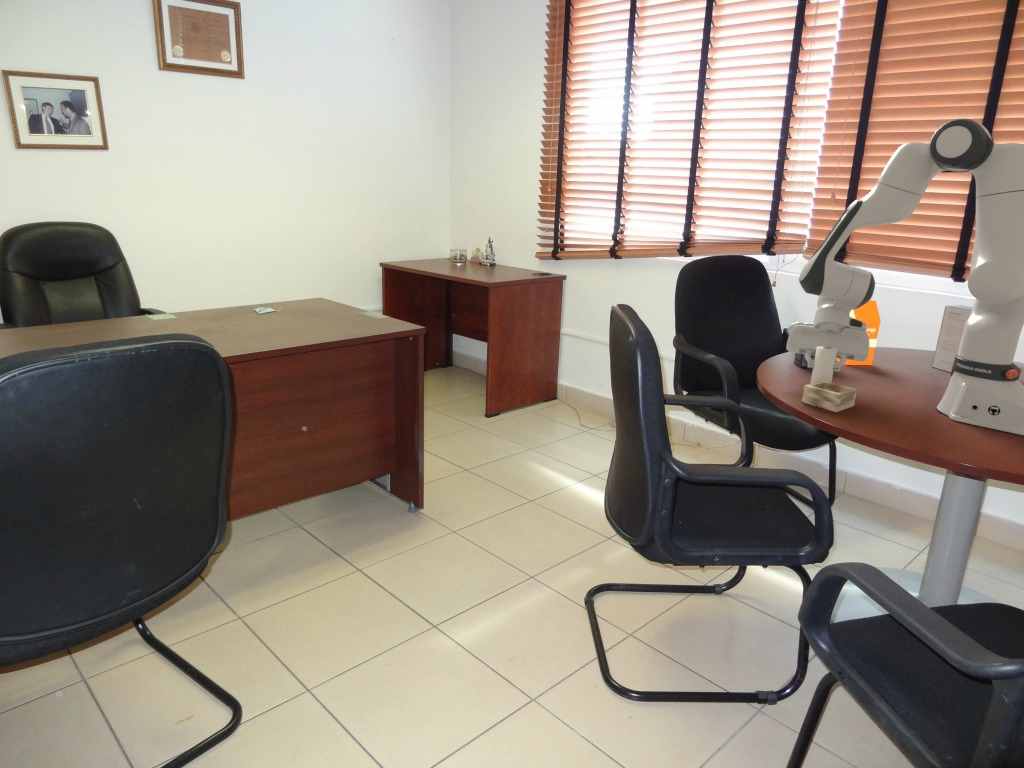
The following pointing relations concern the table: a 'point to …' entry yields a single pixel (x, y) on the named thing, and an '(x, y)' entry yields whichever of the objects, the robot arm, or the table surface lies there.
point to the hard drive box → (950, 335)
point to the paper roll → (823, 364)
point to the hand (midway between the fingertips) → (823, 368)
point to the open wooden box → (829, 395)
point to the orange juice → (872, 318)
